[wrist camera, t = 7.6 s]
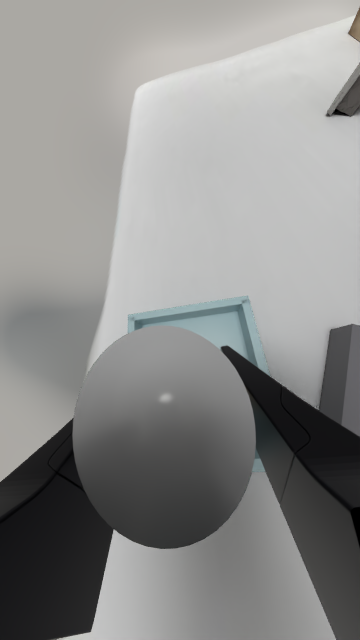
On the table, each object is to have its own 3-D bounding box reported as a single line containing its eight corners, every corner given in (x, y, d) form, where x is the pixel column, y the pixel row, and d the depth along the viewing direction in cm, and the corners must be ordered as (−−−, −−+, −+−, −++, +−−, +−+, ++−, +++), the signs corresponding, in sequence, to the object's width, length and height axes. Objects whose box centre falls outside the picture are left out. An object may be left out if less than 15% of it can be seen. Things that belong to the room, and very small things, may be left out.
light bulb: (225, 379, 15) (307, 456, 3) (190, 406, 15) (120, 609, 3) (198, 344, 17) (176, 295, 4) (166, 368, 16) (52, 388, 4)
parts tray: (278, 450, 13) (296, 471, 11) (139, 453, 15) (125, 472, 12) (241, 305, 18) (248, 295, 15) (138, 321, 19) (128, 314, 17)
